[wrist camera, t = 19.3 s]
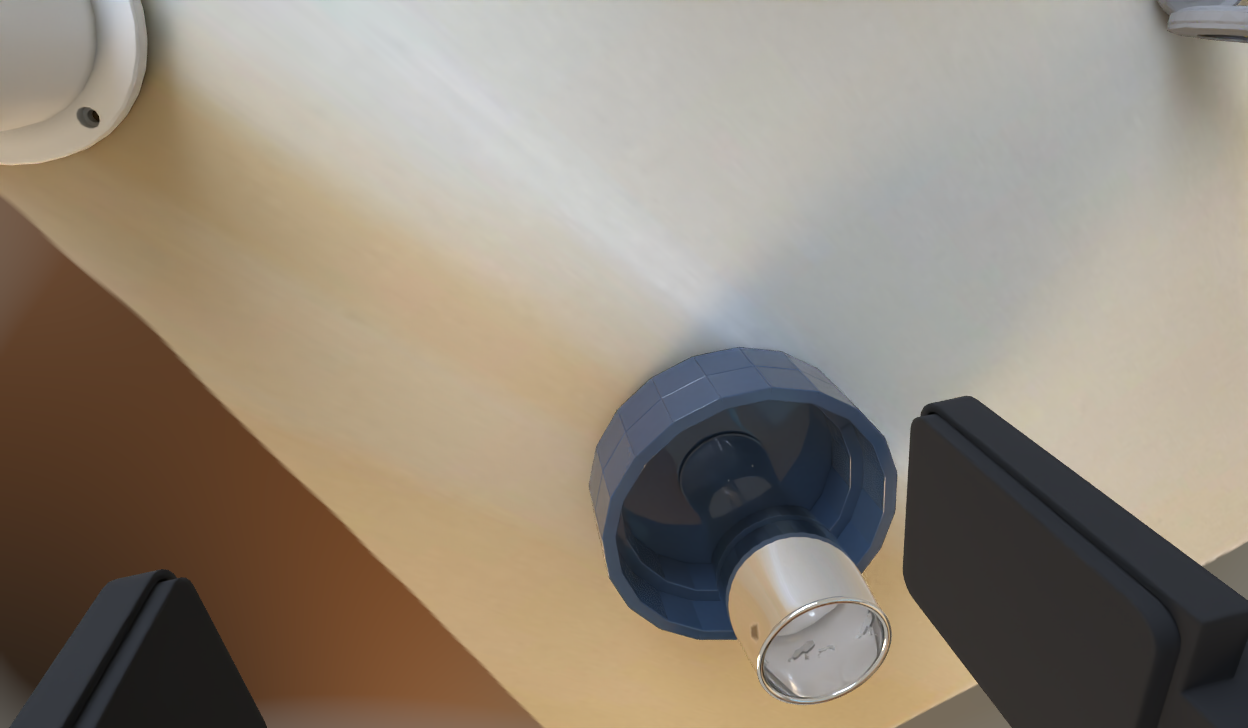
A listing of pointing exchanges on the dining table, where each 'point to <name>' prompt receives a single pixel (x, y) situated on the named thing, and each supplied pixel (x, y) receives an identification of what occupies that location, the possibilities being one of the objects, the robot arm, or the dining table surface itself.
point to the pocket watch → (1207, 19)
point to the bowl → (707, 407)
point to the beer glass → (783, 577)
